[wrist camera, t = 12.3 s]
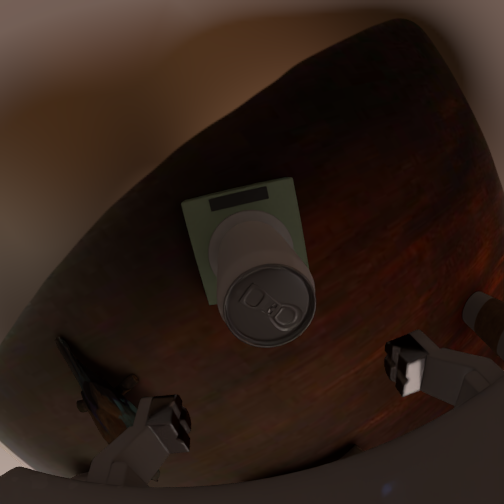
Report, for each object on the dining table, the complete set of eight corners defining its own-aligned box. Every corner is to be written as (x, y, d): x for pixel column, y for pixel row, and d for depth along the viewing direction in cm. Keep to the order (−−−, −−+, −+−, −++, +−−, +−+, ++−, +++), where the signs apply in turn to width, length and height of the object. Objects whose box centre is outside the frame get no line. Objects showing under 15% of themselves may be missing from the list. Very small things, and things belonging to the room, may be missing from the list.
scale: (183, 200, 30) (179, 203, 27) (287, 176, 30) (294, 177, 27) (210, 295, 33) (209, 308, 30) (305, 273, 33) (312, 283, 30)
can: (259, 295, 30) (280, 367, 19) (205, 261, 29) (195, 322, 17) (297, 244, 29) (343, 292, 17) (243, 206, 27) (258, 234, 16)
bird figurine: (41, 356, 32) (60, 487, 19) (67, 318, 31) (92, 471, 18) (111, 378, 42) (145, 488, 28) (143, 347, 41) (188, 469, 27)
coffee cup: (490, 307, 39) (544, 344, 25) (461, 338, 40) (513, 384, 25) (484, 274, 37) (548, 310, 22) (452, 307, 37) (515, 354, 23)
